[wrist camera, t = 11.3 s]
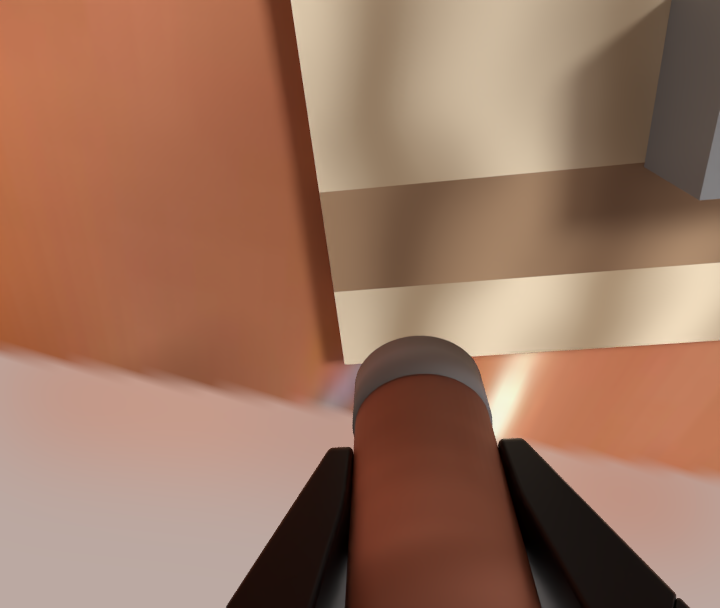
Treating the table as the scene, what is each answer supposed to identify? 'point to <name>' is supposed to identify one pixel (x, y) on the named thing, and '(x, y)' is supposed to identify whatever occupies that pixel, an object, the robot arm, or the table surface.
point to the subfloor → (501, 176)
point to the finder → (688, 101)
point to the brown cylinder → (430, 487)
